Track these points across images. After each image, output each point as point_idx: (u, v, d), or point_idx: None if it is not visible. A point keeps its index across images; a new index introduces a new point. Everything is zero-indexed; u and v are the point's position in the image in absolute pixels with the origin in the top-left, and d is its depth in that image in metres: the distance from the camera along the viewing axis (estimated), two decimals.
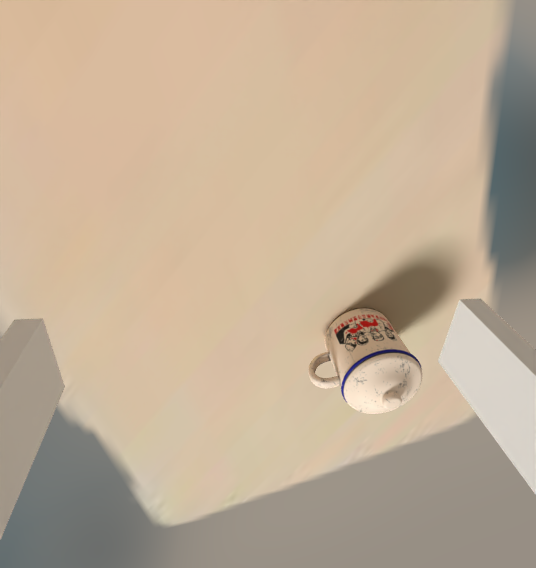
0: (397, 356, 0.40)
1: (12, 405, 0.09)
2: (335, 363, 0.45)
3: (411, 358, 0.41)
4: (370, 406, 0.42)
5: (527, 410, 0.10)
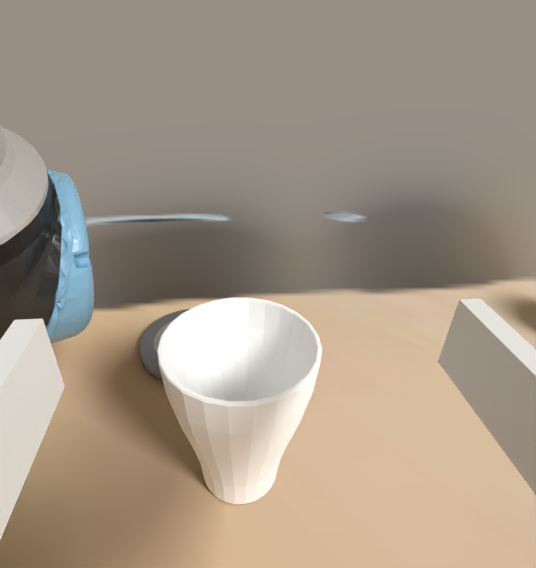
0: None
1: (12, 405, 0.09)
2: None
3: None
4: None
5: (527, 410, 0.10)
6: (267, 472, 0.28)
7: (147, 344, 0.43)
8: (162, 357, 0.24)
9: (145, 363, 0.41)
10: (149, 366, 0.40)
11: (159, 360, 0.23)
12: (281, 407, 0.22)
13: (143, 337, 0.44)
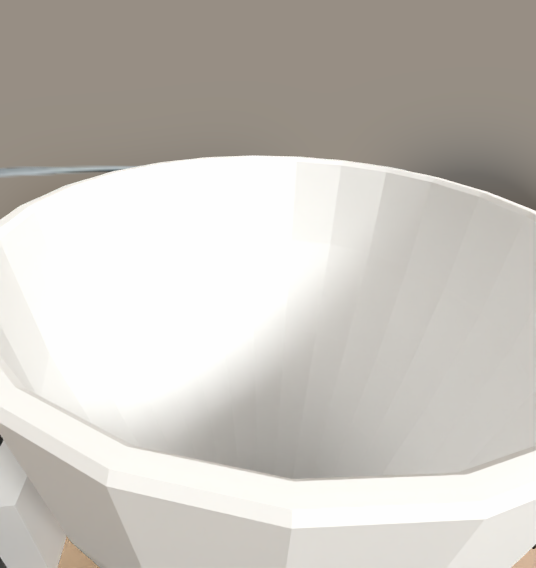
0: None
1: None
2: None
3: None
4: None
5: None
6: None
7: None
8: None
9: None
10: None
11: None
12: None
13: None
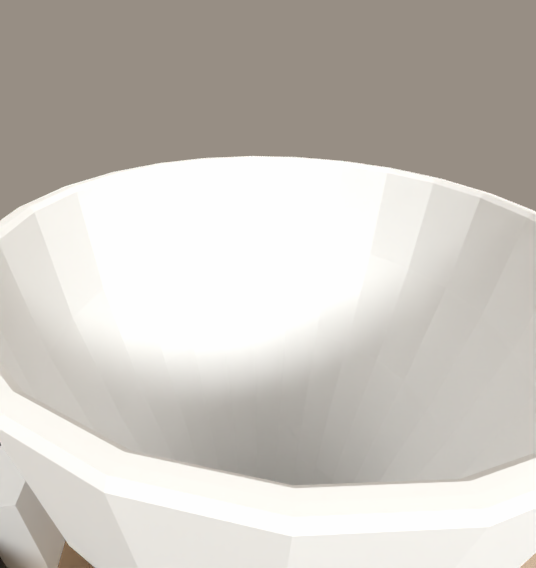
0: None
1: None
2: None
3: None
4: None
5: None
6: None
7: None
8: None
9: None
10: None
11: None
12: None
13: None
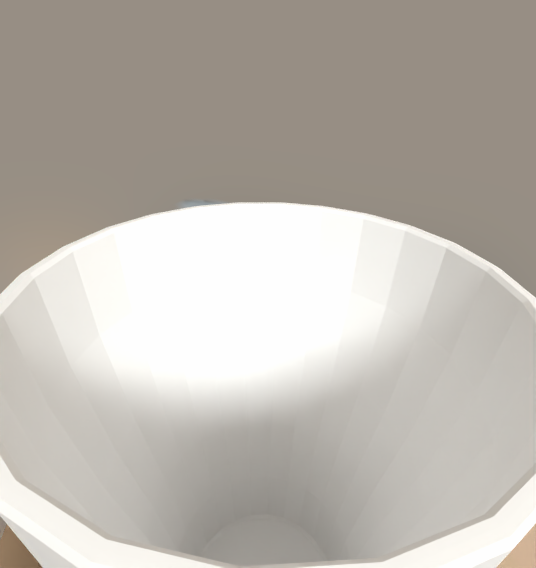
0: None
1: None
2: None
3: None
4: None
5: None
6: None
7: None
8: None
9: None
10: None
11: None
12: None
13: None
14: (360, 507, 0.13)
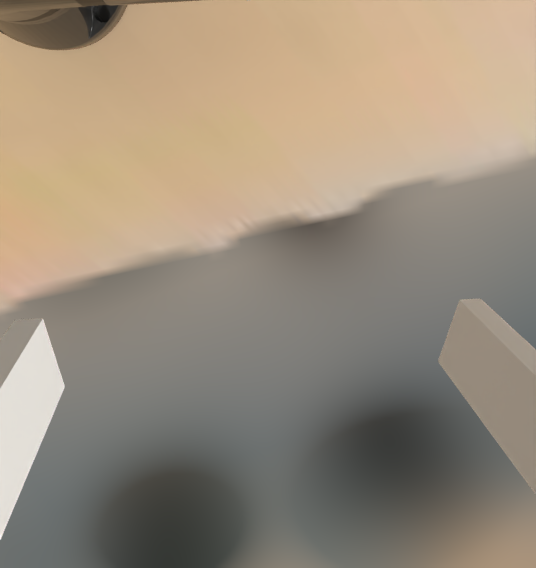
0: None
1: (12, 405, 0.09)
2: None
3: None
4: None
5: (527, 410, 0.10)
6: None
7: None
8: None
9: None
10: None
11: None
12: None
13: None
14: None
